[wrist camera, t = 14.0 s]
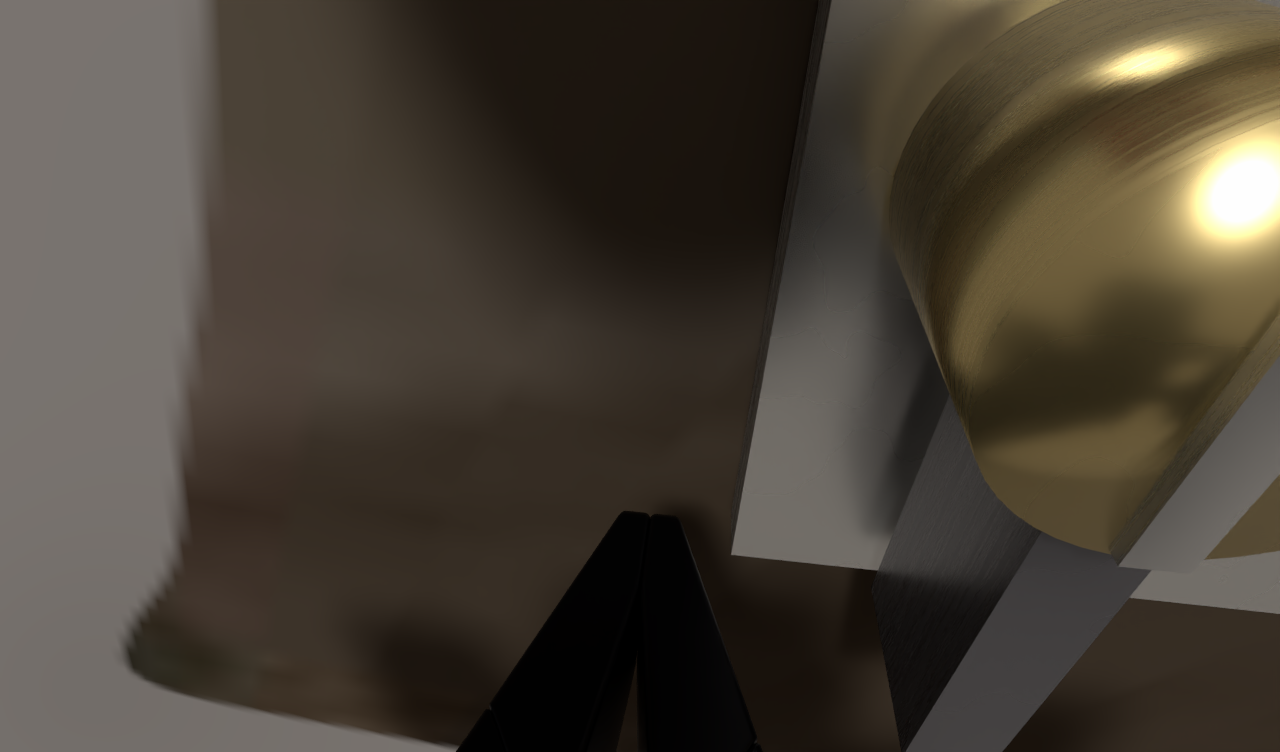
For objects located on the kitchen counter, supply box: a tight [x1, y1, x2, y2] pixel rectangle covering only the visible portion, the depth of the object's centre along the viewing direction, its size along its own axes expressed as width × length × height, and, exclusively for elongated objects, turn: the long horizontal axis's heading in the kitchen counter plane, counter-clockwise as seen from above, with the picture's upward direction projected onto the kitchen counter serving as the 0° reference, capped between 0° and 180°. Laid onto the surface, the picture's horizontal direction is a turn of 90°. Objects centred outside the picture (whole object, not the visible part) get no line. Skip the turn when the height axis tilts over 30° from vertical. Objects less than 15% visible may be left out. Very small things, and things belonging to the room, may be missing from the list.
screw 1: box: [871, 0, 1280, 752], centre depth 8 cm, size 9×4×4 cm, turn 178°
